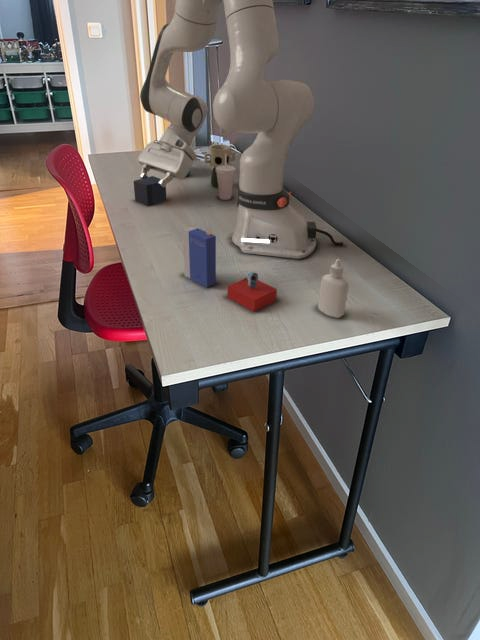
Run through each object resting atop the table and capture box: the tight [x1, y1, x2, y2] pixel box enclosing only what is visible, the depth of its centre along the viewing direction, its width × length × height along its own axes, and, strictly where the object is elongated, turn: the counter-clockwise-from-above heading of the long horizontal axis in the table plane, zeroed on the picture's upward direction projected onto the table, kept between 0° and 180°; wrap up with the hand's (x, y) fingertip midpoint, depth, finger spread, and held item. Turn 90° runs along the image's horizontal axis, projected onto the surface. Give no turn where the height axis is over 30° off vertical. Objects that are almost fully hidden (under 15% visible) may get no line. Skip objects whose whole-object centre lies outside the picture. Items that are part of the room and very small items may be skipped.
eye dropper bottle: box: [317, 258, 350, 319], centre depth 101 cm, size 4×6×12 cm
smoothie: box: [215, 153, 236, 201], centre depth 159 cm, size 6×6×14 cm
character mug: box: [203, 143, 236, 187], centre depth 170 cm, size 11×7×13 cm, turn 111°
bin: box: [133, 175, 168, 207], centre depth 158 cm, size 8×6×6 cm
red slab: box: [227, 272, 278, 312], centre depth 107 cm, size 8×7×6 cm
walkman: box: [182, 225, 217, 288], centre depth 112 cm, size 8×3×12 cm, turn 45°
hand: (151, 182), depth 157 cm, fingers open, 8 cm apart
